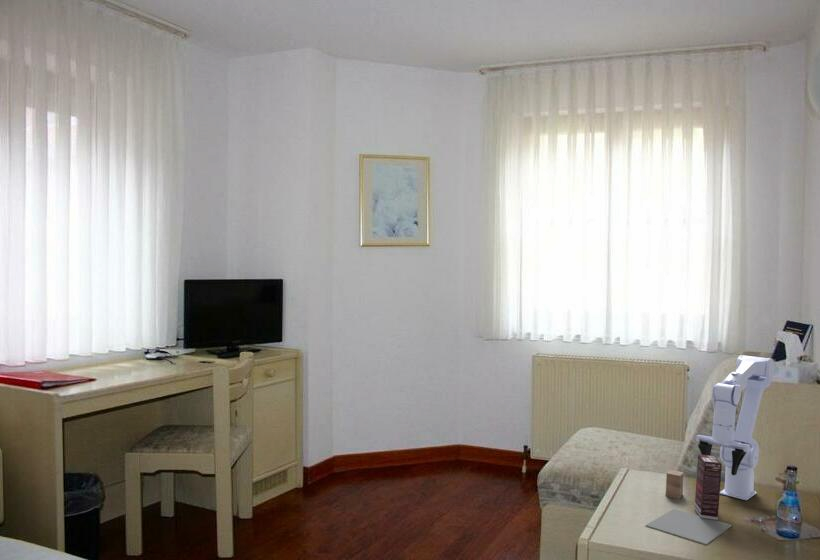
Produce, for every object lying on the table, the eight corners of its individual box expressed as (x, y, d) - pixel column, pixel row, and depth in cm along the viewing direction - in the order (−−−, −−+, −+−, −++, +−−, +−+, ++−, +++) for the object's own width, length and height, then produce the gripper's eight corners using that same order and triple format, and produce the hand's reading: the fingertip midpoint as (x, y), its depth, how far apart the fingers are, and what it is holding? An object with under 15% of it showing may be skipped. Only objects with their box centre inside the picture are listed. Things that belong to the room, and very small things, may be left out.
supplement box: (718, 520, 188) (722, 463, 188) (700, 518, 189) (703, 461, 189) (711, 510, 196) (715, 455, 196) (693, 508, 197) (697, 453, 197)
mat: (673, 509, 196) (673, 508, 196) (731, 526, 185) (731, 525, 185) (645, 526, 183) (645, 525, 183) (706, 545, 172) (706, 543, 172)
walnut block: (668, 492, 211) (669, 469, 211) (682, 495, 209) (683, 472, 208) (665, 495, 207) (666, 473, 207) (679, 498, 205) (680, 475, 205)
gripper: (693, 421, 201) (689, 467, 201) (745, 431, 191) (741, 479, 191) (702, 419, 206) (699, 464, 206) (753, 429, 196) (750, 476, 196)
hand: (720, 471), depth 199 cm, fingers open, 7 cm apart
